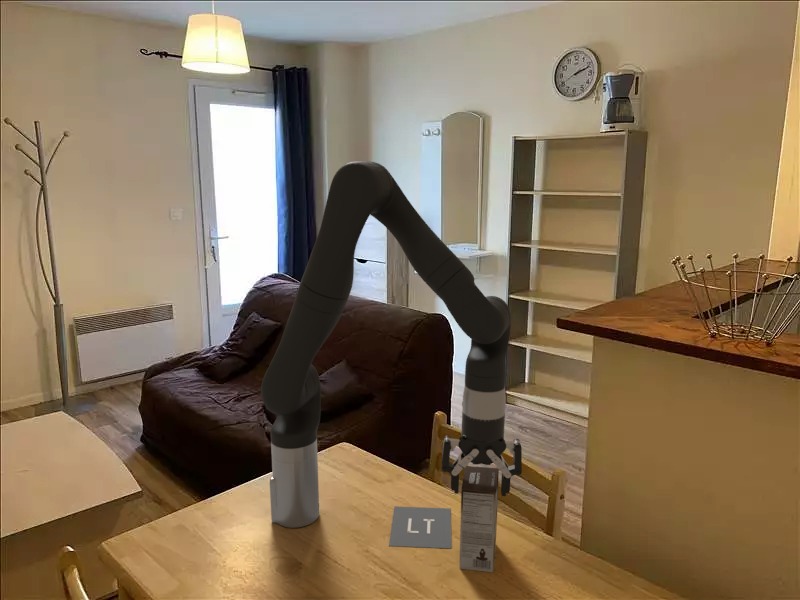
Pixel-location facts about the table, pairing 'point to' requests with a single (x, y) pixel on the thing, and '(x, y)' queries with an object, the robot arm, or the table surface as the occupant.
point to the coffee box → (478, 518)
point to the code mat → (421, 527)
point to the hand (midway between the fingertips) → (479, 492)
